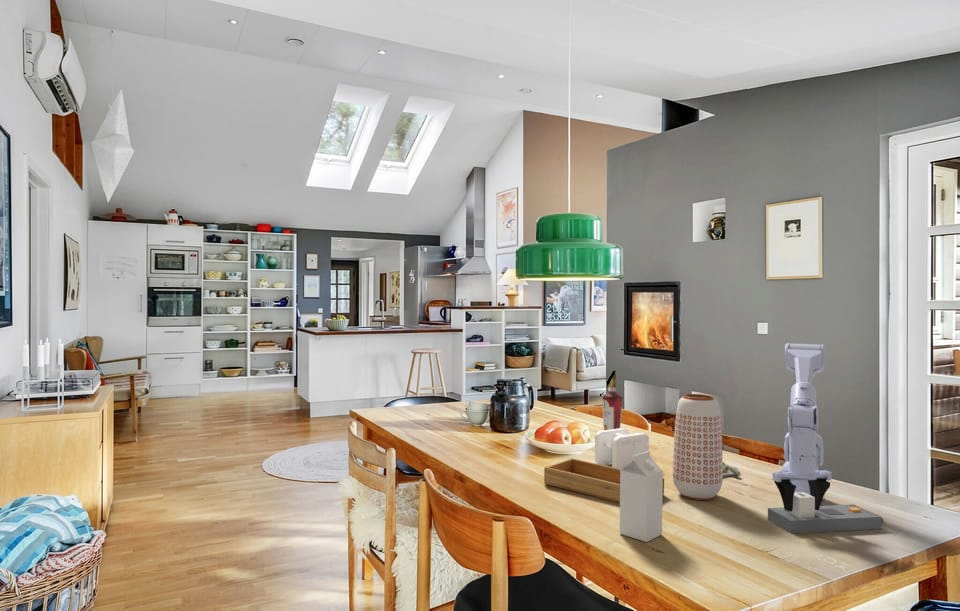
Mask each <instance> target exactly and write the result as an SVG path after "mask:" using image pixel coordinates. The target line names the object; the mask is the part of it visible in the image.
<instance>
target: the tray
mask: <svg viewBox="0 0 960 611" xmlns="http://www.w3.org/2000/svg"><path fill="white" fill-rule="evenodd" d="M620 470H622V469H619V468H614V467H612V466H610V465H607V466H605V465H601V464H597V463H596V462H592V461H586V460H582V459H577V458H572V457H571V458H567V459H565V460H562V461H559V462H556V463H553V464H551V465H547V466H545V467H544V471H543V473H544V476H543V482H544V485H548V486H552V487H556V488H561V489H564V490H568V491H571V492H576V493H580V494H584V495H587V496H591V497H595V498H599V499H603V500H606V501H610V502H615V503H618V504H620ZM664 495H665V478H664V477H663V491H662V497H663V496H664Z"/></svg>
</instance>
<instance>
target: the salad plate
mask: <svg viewBox="0 0 960 611" xmlns="http://www.w3.org/2000/svg"><path fill="white" fill-rule="evenodd" d="M722 464H723V478H727V477H733V476H735V475H736V476H740V472H739V468H738V467H736V466H735V465H734V466H733V465H730V464H727V463H725V462H724V461H722Z"/></svg>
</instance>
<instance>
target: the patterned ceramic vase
mask: <svg viewBox="0 0 960 611" xmlns="http://www.w3.org/2000/svg"><path fill="white" fill-rule="evenodd" d="M719 405H720V404H719V403H718V400H716V398H715V397H714V396H713V395H708V394H701V393H687V394H686V393H685V394H683V395H682V397H681V398H679V400H678V402H677V406H676V413H675V423H674V435H673V436H674V437H673V455H672V457H673V458H672V480H673V485H674V486H675V488H676V490H677V491H678V492H679V493H680V495H681V496H682V497H685V498H687V499H691V500H694V499H695V501H710V500H712V499H714V498H715V496H716V495H717V494H718V493H719V492H720V491H721V490H722V486H723V480H724V477H723V464H722V462H723V437H722V436H723V435H722V421H721V418H722V417H721V410H720V406H719Z"/></svg>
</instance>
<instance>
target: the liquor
mask: <svg viewBox="0 0 960 611" xmlns="http://www.w3.org/2000/svg"><path fill="white" fill-rule="evenodd" d="M616 380H617V372H614V373H613V375H612V377H611V378H610V380H609V382H608V392H607V393H605V394H603V395H601V396H602V422H603V431H605V430H612V429H620V428H621V423H622V422H621V421H622V406H623V397H622V396H621V394H618V393H617V387H616Z"/></svg>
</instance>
